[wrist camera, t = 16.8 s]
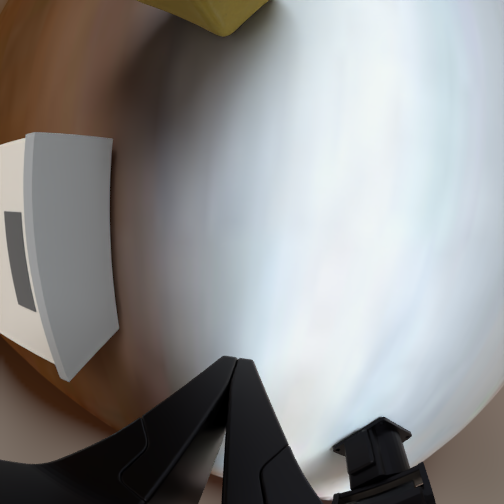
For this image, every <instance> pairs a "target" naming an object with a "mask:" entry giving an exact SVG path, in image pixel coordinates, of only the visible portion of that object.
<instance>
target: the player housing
mask: <svg viewBox="0 0 504 504" xmlns="http://www.w3.org/2000/svg"><path fill="white" fill-rule="evenodd" d="M25 139H26V138H23V139H20V140H16V141H12V142H9V143H5V144H2V145H0V333H1V334H3V335H4V336H6V337H8V338H9V339H11V340H12V341H14V342H16V343H17V344H19V345H21V346H22V347H24V348H26V349H28V350H29V351H31V352H33V353H35V354H37V355H38V356H40V357H42V358H44V359H46V360H48V361H50V362H52V363H54V360H53V357H52V354H51V351H50V348H49V345H48V342H47V339H46V335H45V332H44V329H43V325H42V321H41V318H40V314H39V310H38V306H37V301H36V297H35V292H34V287H33V282H32V277H31V271H30V265H29V258H28V250H27V242H26V232H25V219H24V197H23V174H24V152H25ZM54 364H55V363H54Z"/></svg>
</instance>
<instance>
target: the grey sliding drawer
mask: <svg viewBox="0 0 504 504" xmlns="http://www.w3.org/2000/svg"><path fill="white" fill-rule="evenodd" d="M112 142H113V139H111V138H102V137H93V136H83V135H72V134H59V133H41V132H34V133H30V134H26V139H25V152H24V174H23V197H24V219H25V232H26V242H27V250H28V258H29V265H30V271H31V277H32V282H33V287H34V292H35V297H36V301H37V306H38V310H39V314H40V318H41V321H42V325H43V329H44V332H45V335H46V339H47V342H48V345H49V348H50V351H51V354H52V357H53V360H54V363H55V365H56V368H57V371H58V373H59V376H60V378H62V379H64V380H66V381H68V382H70V380H71V379H72V378H73V377H74V376H75V375H76V374H77V373H78V372H79V371H80V370H81V368H82V367H83V366H84V365H85V364H86V363H87V362H88V361H89V360H90V359H91V358H92V357H93V356H94V355H95V353H96V352H97V351H98V350H99V349H100V348H101V347H102V346H103V345H104V344H105V343H106V342H107V341H108V340H109V339H110V338H111V337H112V336H113V335H114V334H115V333H116V332H117V331H118V329H119V324H118V317H117V310H116V302H115V294H114V284H113V274H112V261H111V244H110V171H111V154H112Z"/></svg>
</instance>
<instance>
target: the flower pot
mask: <svg viewBox="0 0 504 504" xmlns="http://www.w3.org/2000/svg"><path fill="white" fill-rule="evenodd" d="M137 1H139V2H142V3H144V4H147V5H150V6H153V7H156V8H158V9H161V10H164V11H166V12H169V13H171V14H174V15H176V16H178V17H181V18H183V19H185V20H187V21H190V22H192V23H194V24H196V25H198V26H200V27H202V28H204V29H206V30H208V31H210V32H212V33H213V34H216V35H218V36H223V37H225V36H228V35H230V34H232V33H233V32H235V31H236V30H237V29H238V28H239V27H240V26H241V25H242V24H243V23H244V22H245V21H246V20H247V19H248V18H249V17H250V16H251V15H253V14H254V13H255V12H256V11H257V10H258V9H259V8H260V7H262V6H263V5H264V4H265V3H266V2H268V1H269V0H137Z"/></svg>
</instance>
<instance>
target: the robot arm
mask: <svg viewBox="0 0 504 504" xmlns="http://www.w3.org/2000/svg"><path fill="white" fill-rule="evenodd" d="M225 432H226V437H225V453H224V469H223V487H222V504H323V503H322V501H321V500H320V498H319V497H318V496H317V494H316V493H315V491H314V490H313V488H312V487H311V485H310V484H309V482H308V481H307V479H306V477H305V476H304V474H303V473H302V471H301V469H300V467H299V465H298V463H297V461H296V459H295V457H294V455H293V452H292V450H291V448H290V446H288V442H287V439H286V437H285V435H284V433H283V430H282V428H281V426H280V424H279V421H278V419H277V417H276V414H275V412H274V410H273V407H272V405H271V403H270V400H269V398H268V395H267V393H266V391H265V388H264V386H263V383H262V381H261V378H260V376H259V374H258V371H257V369H256V366H255V364H254V361H253V360H251V359H244V358H239V359H237V358H236V357H230V356H222V357H221V358H220V359H218V360H217V361H216V362H215V363H213V364H212V365H211V366H209V367H208V368H207V369H206V370H204V371H203V372H202V373H200V374H199V375H198V376H196V377H195V378H194V379H192V380H191V381H190V382H188V383H187V384H186V385H184V386H183V387H182V388H180V389H179V390H178V391H176V392H175V393H174V394H172V395H171V396H170V397H168V398H167V399H165V400H164V401H163V402H161V403H160V404H158V405H157V406H156V407H154V408H153V409H151V410H150V411H149V412H147V413H146V414H144V415H143V416H142V418H138V419H137V420H135V421H134V422H132V423H131V424H129V425H128V426H126V427H125V428H123V429H121V430H120V431H118V432H116V433H115V434H113V435H111V436H109V437H108V438H105V439H103V440H101V441H99V442H97V443H95V444H93V445H91V446H89V447H87V448H84V449H82V450H80V451H77V452H75V453H73V454H71V455H68V456H65V457H63V458H61V459H58V460H55V461H52V462H48V463H42V464H25V463H18V462H10V461H5V460H0V504H198V503H199V500H200V498H201V495H202V493H203V490H204V488H205V485H206V483H207V480H208V478H209V475H210V473H211V470H212V467H213V465H214V462H215V460H216V457H217V454H218V452H219V449H220V446H221V444H222V441H223V438H224V435H225ZM411 436H412V434H411V432H410V431H408V430H406V429H404V428H402V427H401V426H399V425H397V424H396V423H394V422H392V421H390V420H389V419H387V418H385V417H381V418H379V419H377V420H376V421H374V422H373V423H371V424H370V425H368V426H367V427H365V428H364V429H362V430H360V431H359V432H357V433H356V434H354V435H352V436H351V437H349V438H347V439H345V440H344V441H342V442H340V443H338V444H337V445H335V446H333V451H334V452H336V453H338V454H340V455H343V456H345V457H346V463H347V471H348V474H349V480H350V489H351V491H347V492H344V493H337V494H334V496H333V501H332V504H436V503H435V499H434V496H433V492H432V488H431V485H430V482H429V479H428V476H427V473H426V470H425V466H424V463H423V462H421V463H419V464H418V465H417V466H415V467H412V468H410V466H409V463H408V459H407V456H406V453H405V449H404V446H403V442H404V441H406V440H407V439H409V438H410V437H411ZM421 483H423V485H420V486H418V487H416V485H418V484H421Z"/></svg>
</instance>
